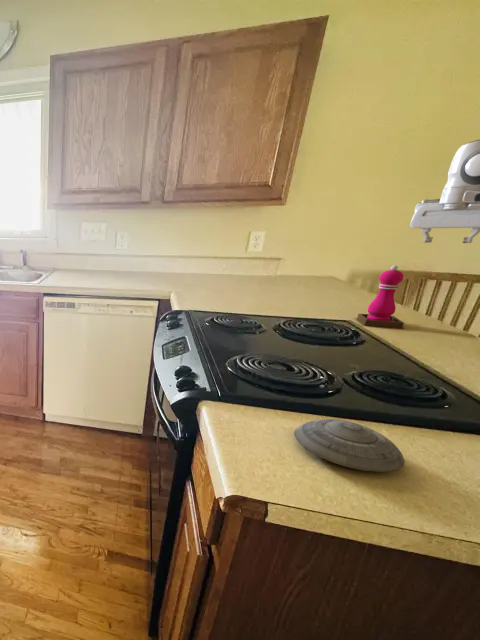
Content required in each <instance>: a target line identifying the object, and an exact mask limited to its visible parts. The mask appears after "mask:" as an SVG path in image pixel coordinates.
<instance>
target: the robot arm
mask: <svg viewBox="0 0 480 640" xmlns="http://www.w3.org/2000/svg"><path fill="white" fill-rule="evenodd" d="M409 227H410V228H411V229H422V230H421V234H422V236H423V237H424V238H423V243H425V244H429V243H430V244H431V243H432V242H433V240H434V237H433V236H430V233H431V231H432V229H471V232H472V233H471V232H470V233H471V234H470V235H468V236H465V237H463V241H462V244H471V243H473V240H474V238H475V237H476V236H477V235H479V233H480V139H476V140H473V141H469V142H467V143H464V144H463V145H461V146H460V147H459V148H458V149H457V150H456V152H455V154H454V155H453V158H452V160H451V163H450V166H449V169H448V173H447V181H446V183H445V185H444V186H443V188H442V191H441V194H440V198H432V199H423V200H422V201H419V202H418V203H417V204H416V205H415V207H414V214H413V216H412V217H411V220H410V223H409Z"/></svg>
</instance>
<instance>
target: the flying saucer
mask: <svg viewBox="0 0 480 640" xmlns="http://www.w3.org/2000/svg"><path fill="white" fill-rule="evenodd" d="M293 436H294V438H295V440H296V442H298V444H299V445H300V446H302V447H303V448H304V449H306V451H308V452H310V453H312V454H314V455H315V456H316V457H319V458H321V459H322V460H325V461H329V462H331V463H333V464H336V465H339V466H343V467H346V468H351V469H355V470H358V471H359V470H360V471H365V472H375V473H376V472H378V473H380V472H381V473H383V472H393V471H397V470H399V469H401V468H402V467H404V466H405V462H406V461H405V460H406V459H405V458H404V455H403V453H402V452H401V450H400V449H399V448H398V446H397V445H396V444H395V442H393V441H392V440H390V439H389V438H388V437H387V436H385V435H383V434H381V433H380V432H378V431H376V430H374V429H372V428H370V427H368V426H364V425H362V424H359V423H356V422H352V421H347V420H342V419H333V418H332V419H329V418H328V419H315V420H310V421H308V422H305V423H303V424H301V425H299V426H298V427H296V428H295V429H294V432H293Z"/></svg>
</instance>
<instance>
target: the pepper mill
mask: <svg viewBox="0 0 480 640" xmlns="http://www.w3.org/2000/svg"><path fill="white" fill-rule="evenodd" d="M398 269H399V267H398V265H392V266H391V267H390V269H388V270H385V271H382V273H380V275H379V278H378V279H379V282H380V283H379V284H378V288H379V290H378V292H377V295H376V296H375V298H374V299H373V300H372V301H371V302H370V303H369V305H368V306H367V309H366V311H367V313H368V314H370V315H368V316H367V319H368V320H380V321H390V319H391V318H390V317H389V316H393V315H394V314H395V312H396V303H395V302H396V301H395V292H396V290H398V289H399V286H400V285H399V284H401V282H403V280H404V274H403V272H402V271H400V270H398Z"/></svg>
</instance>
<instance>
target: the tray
mask: <svg viewBox="0 0 480 640" xmlns="http://www.w3.org/2000/svg"><path fill="white" fill-rule="evenodd" d="M368 315H370V314H369V313H358V314H357V317H356V320H357V321H358V322H359V323H361V324H362V325H363V326H365V327H376V328H377V327H378V328H388V329H389V328H390V329H391V328H392V329H403V328H404V324H405V322H404V321H402V320H401V319H399V318H398V317H396V316H395V315H391V316H389V317H390V318H391V319H390V321H380V320H368V319H367V316H368Z"/></svg>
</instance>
